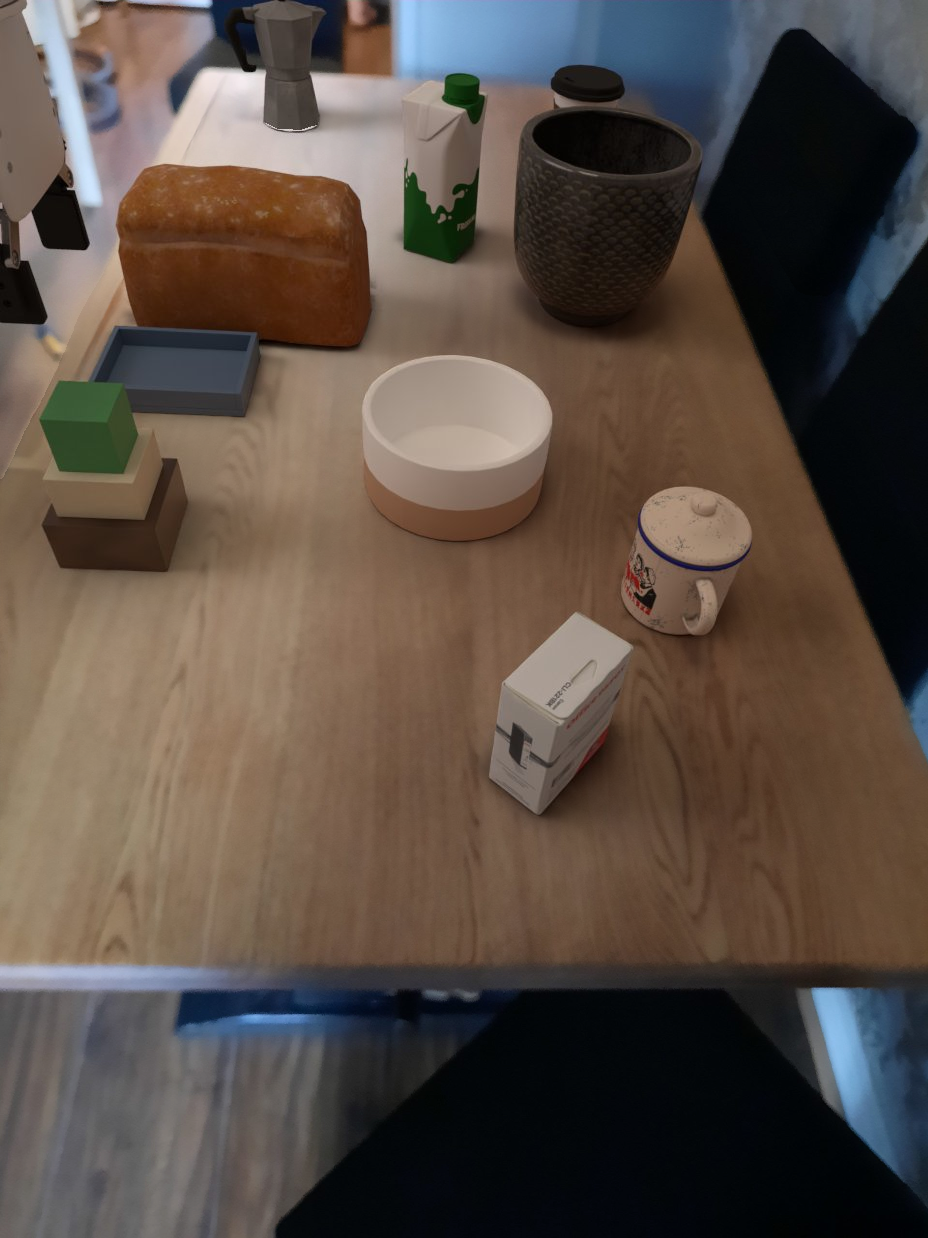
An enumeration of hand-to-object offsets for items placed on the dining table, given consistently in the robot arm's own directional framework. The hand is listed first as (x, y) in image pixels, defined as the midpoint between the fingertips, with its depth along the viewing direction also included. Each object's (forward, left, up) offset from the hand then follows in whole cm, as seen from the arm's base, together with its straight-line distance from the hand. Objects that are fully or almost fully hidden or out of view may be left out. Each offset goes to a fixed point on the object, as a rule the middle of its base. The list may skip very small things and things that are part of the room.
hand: (46, 282), depth 58 cm
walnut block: (0, 0, -24) cm, 24 cm away
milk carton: (+27, +56, -24) cm, 66 cm away
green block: (0, 0, -15) cm, 15 cm away
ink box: (+36, -22, -24) cm, 48 cm away
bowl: (+29, +9, -24) cm, 38 cm away
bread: (+6, +37, -24) cm, 44 cm away
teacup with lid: (+48, -7, -24) cm, 54 cm away
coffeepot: (+2, +94, -24) cm, 97 cm away
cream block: (0, 0, -19) cm, 19 cm away
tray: (0, +23, -24) cm, 33 cm away
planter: (+45, +43, -24) cm, 66 cm away
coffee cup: (+48, +85, -24) cm, 100 cm away
